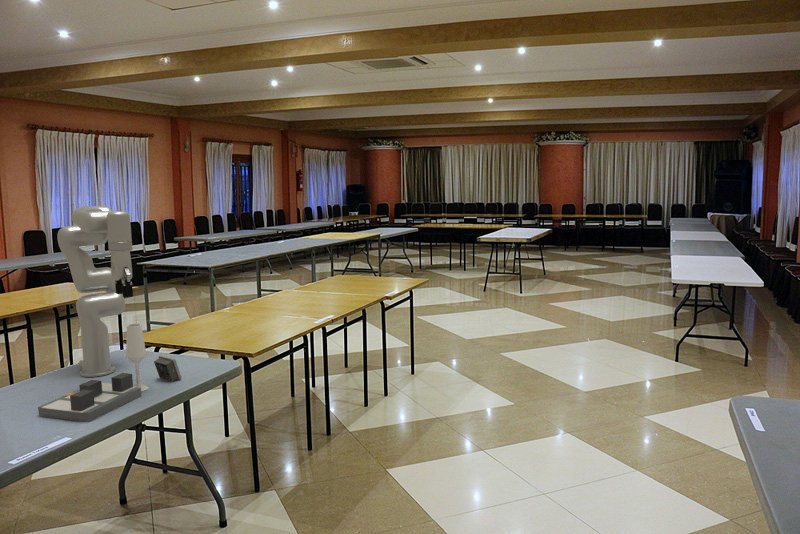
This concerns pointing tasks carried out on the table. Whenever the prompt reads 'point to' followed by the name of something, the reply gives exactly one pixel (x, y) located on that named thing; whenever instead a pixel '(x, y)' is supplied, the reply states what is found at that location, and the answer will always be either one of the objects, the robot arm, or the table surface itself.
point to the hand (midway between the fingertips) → (124, 295)
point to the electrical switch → (167, 368)
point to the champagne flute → (136, 349)
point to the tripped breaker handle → (92, 386)
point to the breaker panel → (92, 411)
